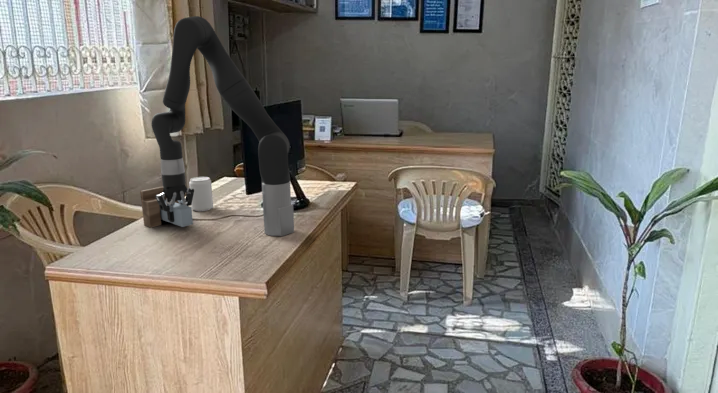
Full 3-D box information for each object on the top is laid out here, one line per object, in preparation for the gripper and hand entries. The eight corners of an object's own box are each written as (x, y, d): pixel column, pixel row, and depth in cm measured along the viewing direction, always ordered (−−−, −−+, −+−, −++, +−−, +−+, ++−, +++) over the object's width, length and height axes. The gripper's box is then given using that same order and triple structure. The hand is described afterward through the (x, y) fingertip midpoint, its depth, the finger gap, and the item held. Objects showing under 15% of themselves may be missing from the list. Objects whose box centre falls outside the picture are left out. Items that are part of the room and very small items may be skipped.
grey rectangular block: (192, 224, 182) (191, 207, 180) (182, 227, 179) (180, 209, 177) (167, 215, 192) (166, 199, 190) (157, 218, 189) (155, 201, 187)
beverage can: (209, 211, 201) (207, 181, 198) (188, 212, 202) (185, 181, 198) (215, 206, 209) (213, 176, 206) (195, 206, 209) (192, 176, 206)
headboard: (185, 218, 193) (182, 186, 190) (150, 227, 183) (146, 193, 180) (176, 215, 197) (173, 184, 194) (141, 224, 187) (138, 191, 184)
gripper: (185, 166, 187) (189, 213, 191) (147, 173, 176) (153, 222, 181) (197, 169, 182) (201, 217, 187) (159, 176, 172) (164, 227, 176)
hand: (177, 219), depth 184 cm, fingers closed on grey rectangular block, 4 cm apart
